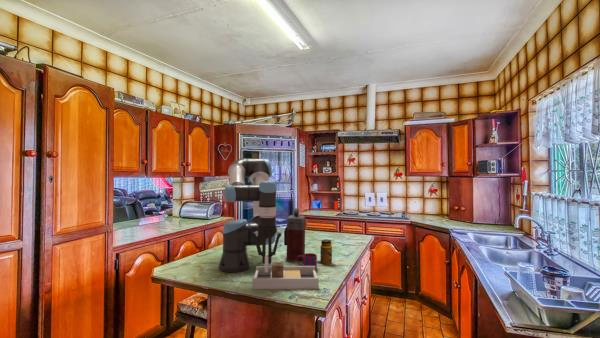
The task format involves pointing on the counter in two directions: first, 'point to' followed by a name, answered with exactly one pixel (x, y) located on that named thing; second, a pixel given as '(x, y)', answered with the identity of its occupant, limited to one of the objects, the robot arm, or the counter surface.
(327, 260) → the condiment
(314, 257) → the mug
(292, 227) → the dark red tall piece
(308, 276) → the box
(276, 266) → the block
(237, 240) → the robot arm
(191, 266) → the counter surface
